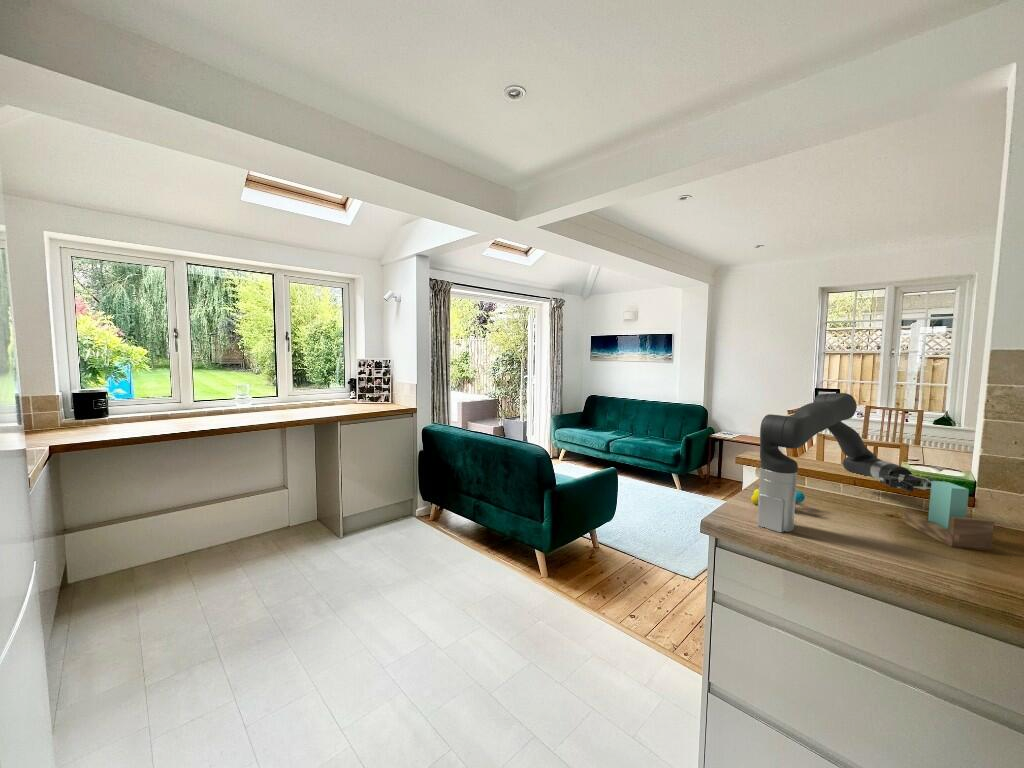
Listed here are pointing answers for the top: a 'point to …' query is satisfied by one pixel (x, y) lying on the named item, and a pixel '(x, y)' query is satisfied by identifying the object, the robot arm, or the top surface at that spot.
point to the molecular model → (799, 498)
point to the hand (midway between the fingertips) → (928, 489)
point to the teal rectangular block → (947, 502)
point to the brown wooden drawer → (956, 531)
